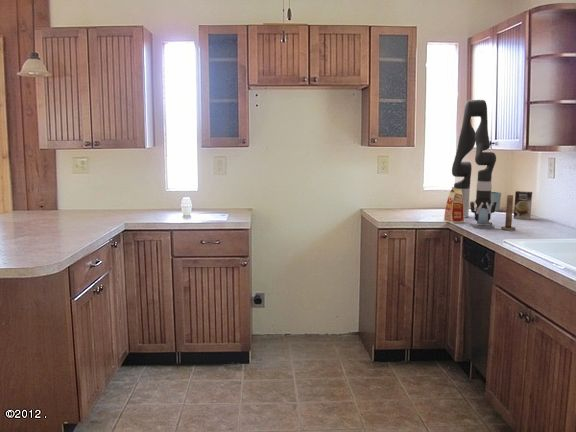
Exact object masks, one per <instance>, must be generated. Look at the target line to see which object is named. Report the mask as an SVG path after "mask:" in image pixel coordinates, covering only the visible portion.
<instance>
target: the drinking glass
mask: <svg viewBox="0 0 576 432" xmlns="http://www.w3.org/2000/svg"><path fill="white" fill-rule="evenodd" d="M501 197H502V192H499V191H491V201H492V202H493V201H494V202H496V203H497V204H496V208H495V211H497V212H500V206H501ZM491 207H492V205H491V204H490V211H491Z"/></svg>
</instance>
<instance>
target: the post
mask: <svg viewBox="0 0 576 432" xmlns="http://www.w3.org/2000/svg"><path fill="white" fill-rule="evenodd" d="M513 205H514V195H513V194H507V195H506V206H505V207H506V208H505V210H506V211H505V224H504V225H503V226H501V227H500V229H501V230H503V231H515V230H516V227H515V226H512V223H513V222H512V221H513V209H514V208H513V207H514V206H513Z"/></svg>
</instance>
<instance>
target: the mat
mask: <svg viewBox="0 0 576 432" xmlns="http://www.w3.org/2000/svg"><path fill="white" fill-rule="evenodd" d="M469 226H470V227H472V228H474V229H495V226H494V225H493V224H492V225H489V224H477V223H469Z"/></svg>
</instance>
